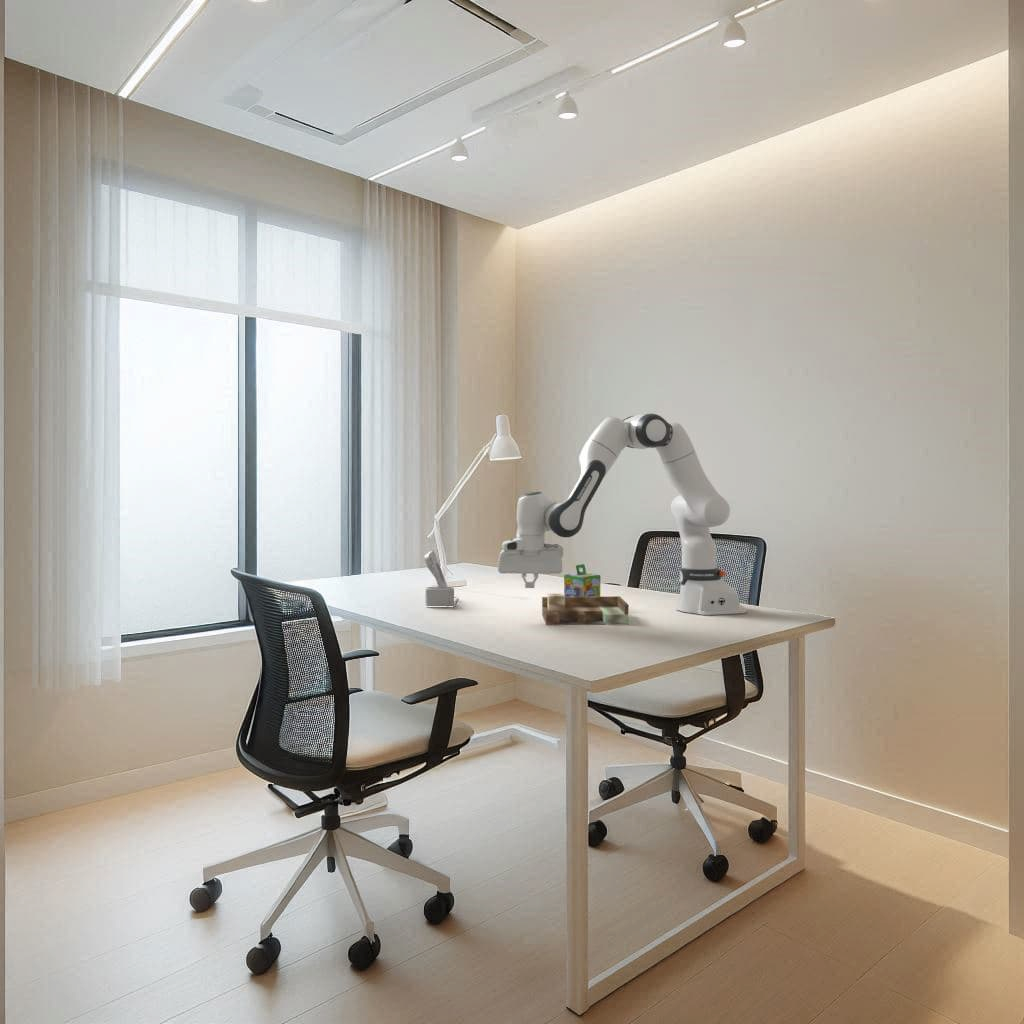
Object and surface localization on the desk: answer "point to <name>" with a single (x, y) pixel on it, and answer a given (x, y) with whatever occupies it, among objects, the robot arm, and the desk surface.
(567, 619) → the track
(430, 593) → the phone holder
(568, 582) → the chalk box
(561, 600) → the maple block
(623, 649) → the desk surface
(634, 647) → the desk surface
